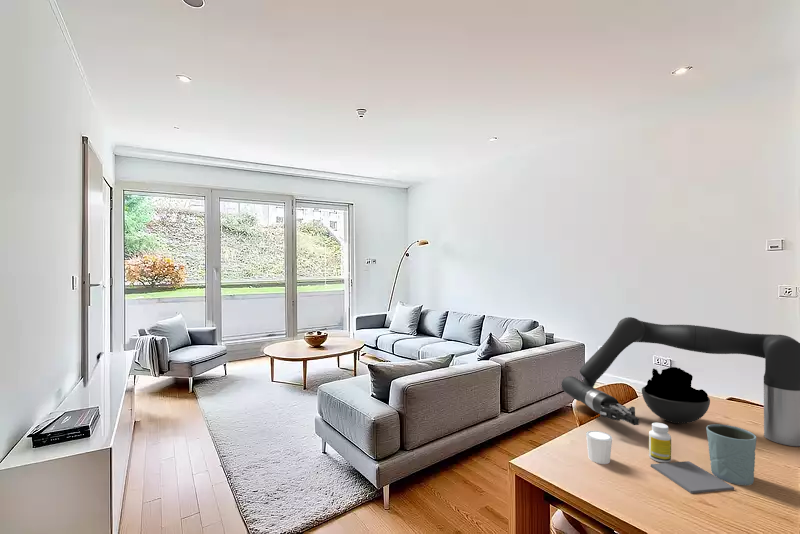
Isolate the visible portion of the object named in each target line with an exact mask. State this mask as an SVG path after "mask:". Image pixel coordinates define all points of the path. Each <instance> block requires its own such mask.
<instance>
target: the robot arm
mask: <svg viewBox="0 0 800 534" xmlns="http://www.w3.org/2000/svg"><path fill="white" fill-rule="evenodd" d="M634 343H645V344H646V343H648V344H658V345H664V346H667V347H672V348H674V349H675V348H676V349H679V350H685V351H690V352H694V353H695V352H696V353H702V354H703V353H704V354H711V355H712V354H713V355H735V354H736V355H745V356H752V357H758V358H762V359H764V360H765V362H764V363H765V364H764V365H765V366H764V368H765V369H764V374H763V437H764V438H765V439H767V440H769V441H772V442H774V443H777V444H780V445H783V446H790V447H800V342H799V341H798V340H797V339H795V338H793V337H791V336H788V335H785V334H784V335H783V334H771V333H770V334H767V333H766V334H764V333H747V332H746V333H745V332H739V331H735V330H729V329H725V328H724V329H723V328H717V327H710V326H705V325H694V324H660V323H653V322H648V321H644V320H639V318H638V319H637V318H636V317H629V316H627V317H624V318H622V319H620V320H619V321H618V323H617V325H616V326H615V328H614V329H613V331H612V333H611V335H610V336H608V339H606V341H605V342H604V343H603V345H602V346H600V348H599V349H597V351H596V352H595V353H594V354H593V355H592V356H591V357H590V358H589V359H588V360H587V361H586V362H585V363H584V364H583V365H582V366H581V367H580V369H579V374H580V375H581V376H582V377H583V380H582V381H581V380H580V379H578V378H577V377H575V376H565V377H564V378H563V379H562V381H561V389H562V391H563V392H564V393H566V394H567V395H568V396H570V397H571V398H573V399H575V400H576V401H578V402H581V403H582V404H583V405H585V406H587V407H588V408H590V409H591V410H592V411H594V412H595V413H597V414H599V415H600V418H605V419H610V420H613V421H617V422H620V421H623V422H627V423H628V424H631V425H632V426H639V425H640V418H638V417H637V416H636V407H635V406H630V407H626V406H625V405H622V404H621V403H620V402H619V400H618V399H616V398H615V397H614V396H612V395H610V394H608V393H606V392H604V391H601V390H599V389H596V388H594V387H595V384H596V383H597V381H598V380H599V379H600V378H601V377H602V376H603V374H605V373H606V371H607V370H608V369H609V368H610V367H611V365H613V363H614V362H615V360H616V359H617V357H619V355H620V354H622V352H623V351H624V350H625V349H627V347H629V346H631V345H632V344H634Z"/></svg>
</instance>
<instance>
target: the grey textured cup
mask: <svg viewBox="0 0 800 534" xmlns="http://www.w3.org/2000/svg"><path fill="white" fill-rule="evenodd" d="M705 429H706V435H707V437H706V438H707V442H708V445H707V446H708V453H709V454H708V455H709V461H710V470H711V474H712V475H714V476H716V477H717V478H719V479H721V480H723V481H724V482H726V483H728V484H729V483H730V484H734V485H736V486H737V485H738V486H751V485H753V484H754V482H755V481H754V479H755V467H756V465H755V463H756V449H757V448H756V445H757V436H756V434H754V433H753V432H752V431H749V430H746V429H744V428H741V427H738V426H733V425H729V424H722V423H721V424H719V423H718V424H717V423H715V424H714V423H712V424H708V425H706V427H705Z"/></svg>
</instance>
